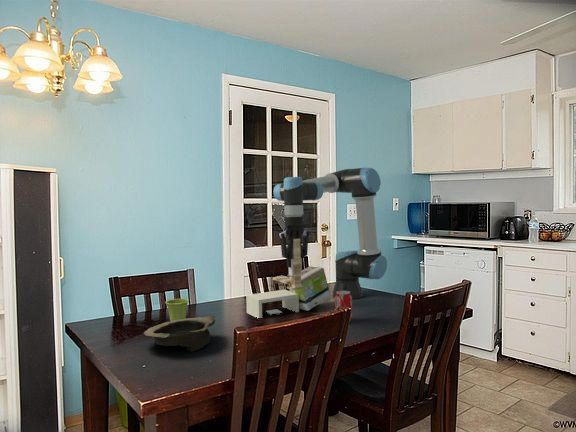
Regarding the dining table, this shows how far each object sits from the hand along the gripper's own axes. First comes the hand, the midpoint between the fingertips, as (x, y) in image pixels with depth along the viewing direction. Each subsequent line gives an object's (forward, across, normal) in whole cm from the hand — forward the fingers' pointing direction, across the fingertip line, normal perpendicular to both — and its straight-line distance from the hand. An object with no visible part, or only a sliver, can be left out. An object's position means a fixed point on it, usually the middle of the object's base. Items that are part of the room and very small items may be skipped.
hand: (295, 274), depth 177 cm
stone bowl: (+20, +47, -1) cm, 51 cm away
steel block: (+21, -1, -21) cm, 29 cm away
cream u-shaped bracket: (+20, -1, -22) cm, 30 cm away
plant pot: (+20, +39, -31) cm, 54 cm away
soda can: (+21, -18, +7) cm, 28 cm away
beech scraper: (+6, 0, -6) cm, 8 cm away
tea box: (+18, -20, -18) cm, 32 cm away
